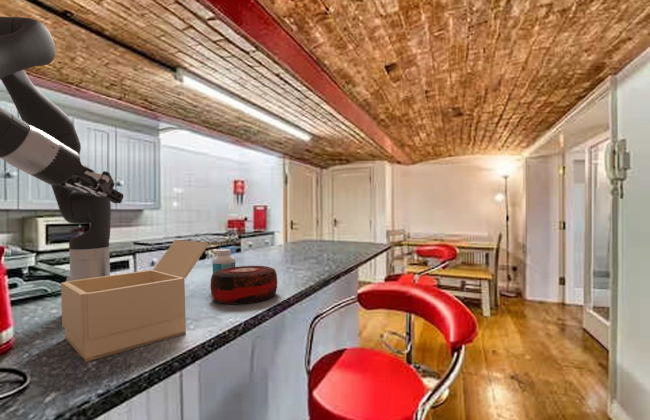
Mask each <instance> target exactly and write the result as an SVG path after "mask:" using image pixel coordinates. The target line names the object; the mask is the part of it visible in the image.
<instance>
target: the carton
mask: <svg viewBox="0 0 650 420" xmlns="http://www.w3.org/2000/svg"><path fill="white" fill-rule="evenodd" d="M185 288H186V287H185V278H183V277H179V276H175V275H171V274H167V273H163V272H159V271H155V270H154V269H148V270H140V271H133V272H126V273H119V274H113V275H111V274H110V276H103V277H96V278H88V279H81V280H73V281H67V280H65V281H63V282H60V291H61V292H60V295H61V296H60V297H61V325H62V327H63V328H64V333H65V334H64V339H65V340H66V341H67V343H68V344H70V346H71V347H72V348H73V349H74V351H75V352H76V353H77V354H78V355H79V356H80V357H81V358H82V359H83V361H84V363H88V362H91V361H94V360H98V359H102V358H105V357H109V356H113V355H116V354H119V353H123V352H126V351H130V350H134V349H137V347H138V348H141V347H144V345H145V346H147V345H151V344H152V345H153V344H155V343H158V342H163V341H166V340H169V338H170V339H173V338H176V337H181V336H184V335H186V334H187V322H186V321H187V320H186V289H185Z"/></svg>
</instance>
